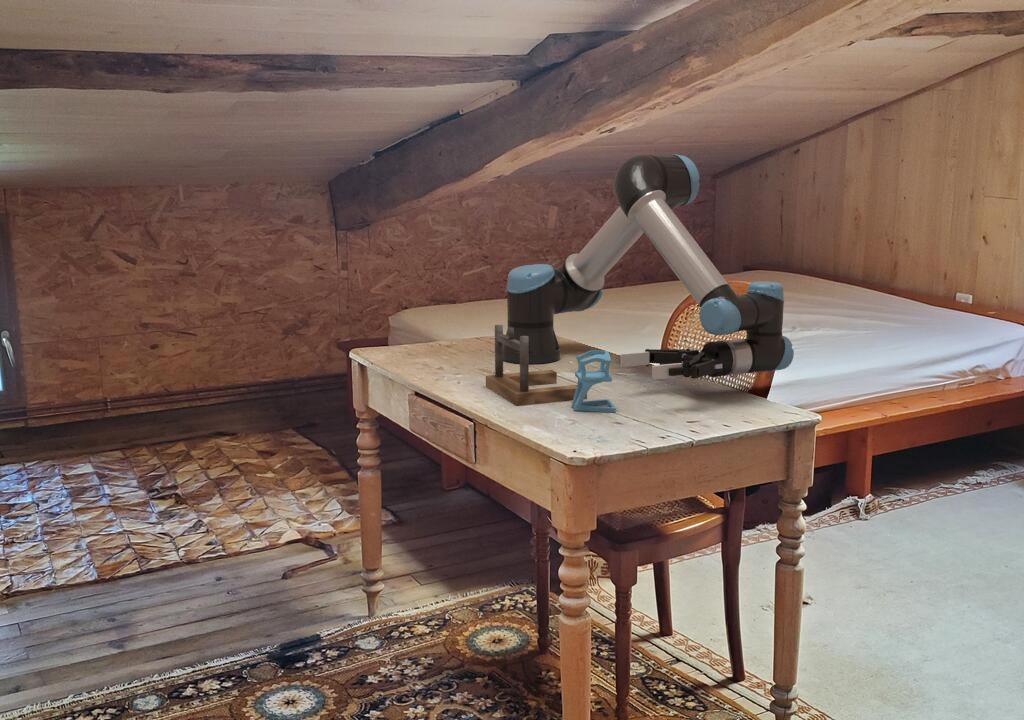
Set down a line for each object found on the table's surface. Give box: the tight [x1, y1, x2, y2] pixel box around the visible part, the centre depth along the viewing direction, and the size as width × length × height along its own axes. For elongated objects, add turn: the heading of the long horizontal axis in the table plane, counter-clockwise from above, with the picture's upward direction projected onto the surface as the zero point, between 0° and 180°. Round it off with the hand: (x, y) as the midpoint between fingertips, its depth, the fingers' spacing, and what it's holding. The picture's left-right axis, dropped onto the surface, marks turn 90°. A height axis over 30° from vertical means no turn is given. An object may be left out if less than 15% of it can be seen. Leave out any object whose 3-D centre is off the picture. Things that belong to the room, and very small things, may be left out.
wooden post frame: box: [485, 324, 588, 407], centre depth 215 cm, size 16×19×15 cm
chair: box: [571, 349, 617, 413], centre depth 201 cm, size 8×8×12 cm
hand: (636, 366), depth 204 cm, fingers open, 13 cm apart
